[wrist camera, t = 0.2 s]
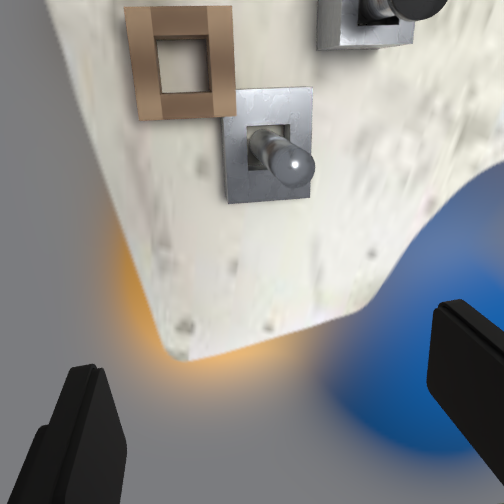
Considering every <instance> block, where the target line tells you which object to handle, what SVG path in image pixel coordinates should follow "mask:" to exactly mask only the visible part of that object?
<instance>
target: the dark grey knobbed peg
mask: <svg viewBox="0 0 504 504" xmlns="http://www.w3.org/2000/svg"><path fill="white" fill-rule="evenodd" d="M446 2H447V0H359V5H358V21H357V23H358V24H367V23H371V22H374V21H377V20H381V19H384V18H388V17H391V16H394V15H395V16H397V17H398V18H399V19H401V20H403V21H407V22H415V21H419V20H423V19H427V18H430V17H432V16H433V15H435V14H436V13H438V12H439V11H440V10H441V9H442V8H443V6H444V5H445V4H446Z"/></svg>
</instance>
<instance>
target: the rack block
mask: <svg viewBox="0 0 504 504" xmlns="http://www.w3.org/2000/svg"><path fill="white" fill-rule="evenodd" d="M124 13H125V21H126V28H127V35H128V43H129V50H130V57H131V65H132V72H133V79H134V87H135V94H136V101H137V109H138V116H139V121H147V120H168V119H189V118H210V117H231V116H237V109H236V86H235V64H234V41H233V19H232V6H158V7H124ZM182 39H206V48H207V63H208V77H209V91H205V92H180V93H162V87H161V78H160V69H159V60H158V51H157V42H156V40H182Z"/></svg>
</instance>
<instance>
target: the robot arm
mask: <svg viewBox="0 0 504 504" xmlns="http://www.w3.org/2000/svg"><path fill="white" fill-rule="evenodd" d="M427 387H428V390H429V392H430V393H431V395H432V396H433V397H434V399H435V400H436V401H437V402H438V404H439V405H440V406H441V408H442V409H443V410H444V411H445V412H446V414H447V415H448V416H449V417H450V419H451V420H452V421H453V423H454V424H455V425H456V426H457V428H458V429H459V430H460V431H461V433H462V434H463V435H464V436H465V438H466V439H467V440H468V441H469V443H470V444H471V445H472V446H473V448H474V449H475V450H476V451H477V453H478V454H479V455H480V457H481V458H482V459H483V460H484V462H485V463H486V464H487V465H488V467H489V468H490V469H491V470H492V472H493V473H494V474H495V475H496V477H497V478H498V479H499V481H500V482H501V483H502V484H503V486H504V331H502V330H501V329H500V328H499V327H497V326H496V325H495V324H493V323H492V322H491V321H489V320H488V319H487V318H486V317H484V316H483V315H482V314H481V313H479V312H478V311H477V310H475V309H474V308H473V307H472V306H470V305H469V304H468V303H466V302H465V301H464V300H462V299H458V300H451V301H446V302H442V303H440V304H439V305H438V308H436V309H435V310H434V312H433V320H432V330H431V341H430V350H429V360H428V370H427ZM126 457H127V444H126V439H125V436H124V433H123V430H122V426H121V423H120V420H119V417H118V413H117V410H116V407H115V403H114V400H113V397H112V394H111V390H110V387H109V384H108V381H107V377H106V374H105V371H104V369H103V368H98V369H97V367H96V365H95V364H89V365H83V366H77V367H72V368H71V369H70V371H69V373H68V376H67V378H66V381H65V383H64V386H63V388H62V391H61V393H60V396H59V399H58V401H57V404H56V406H55V409H54V412H53V415H52V417H51V419H50V422H49V424H48V425H43V426H41V427H40V428H39V429H38V431H37V433H36V434H35V437H34V439H33V442H32V444H31V447H30V449H29V451H28V454H27V456H26V459H25V461H24V464H23V466H22V469H21V471H20V473H19V476H18V478H17V481H16V483H15V486H14V488H13V490H12V493H11V495H10V498H9V500H8V503H7V504H120V497H121V491H122V485H123V478H124V471H125V464H126ZM500 504H504V503H500Z"/></svg>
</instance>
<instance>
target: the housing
mask: <svg viewBox="0 0 504 504" xmlns="http://www.w3.org/2000/svg"><path fill="white" fill-rule="evenodd" d="M358 5H359V0H318V10H317V45H316V50H345V49H380V48H386V47H393V46H400V45H407V44H413V36H414V27H415V22H407V21H403V20H401V19H399V18H398V17H397V16H395V15H394V16H391V17H388V18H384V19H381V20H377V21H374V22H371V23H367V26H357V21H358Z"/></svg>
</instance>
